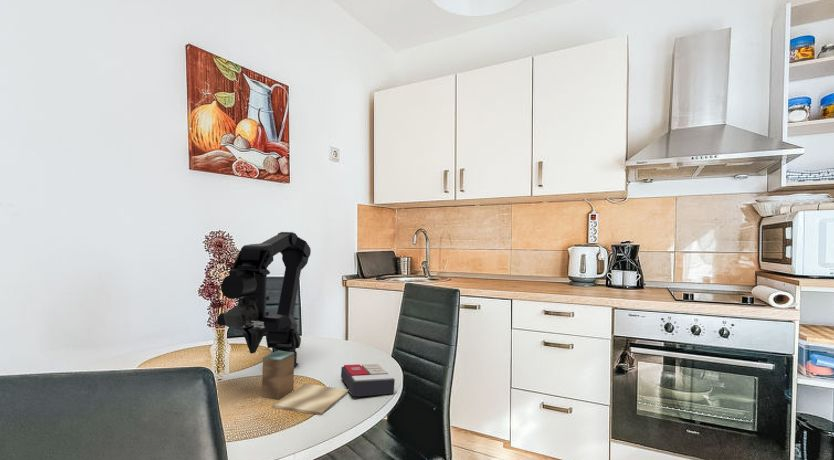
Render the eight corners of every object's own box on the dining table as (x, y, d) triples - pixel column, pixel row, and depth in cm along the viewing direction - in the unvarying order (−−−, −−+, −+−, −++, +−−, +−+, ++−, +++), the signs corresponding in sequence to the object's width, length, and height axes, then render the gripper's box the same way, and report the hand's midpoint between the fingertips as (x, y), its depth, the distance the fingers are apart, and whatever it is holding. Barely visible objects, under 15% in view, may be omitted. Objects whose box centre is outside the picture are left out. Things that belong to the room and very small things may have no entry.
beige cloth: (272, 407, 90) (272, 404, 90) (305, 385, 104) (305, 383, 104) (321, 415, 86) (321, 412, 87) (349, 392, 100) (349, 389, 100)
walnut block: (261, 397, 96) (262, 357, 96) (276, 388, 101) (277, 350, 102) (278, 400, 94) (280, 359, 94) (293, 391, 100) (294, 352, 100)
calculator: (378, 362, 113) (395, 376, 100) (377, 377, 113) (394, 393, 99) (341, 363, 109) (353, 378, 95) (340, 379, 109) (352, 396, 95)
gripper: (200, 295, 96) (198, 358, 95) (264, 299, 90) (262, 366, 90) (233, 289, 106) (231, 346, 106) (292, 293, 101) (290, 353, 101)
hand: (252, 353), depth 100 cm, fingers closed
